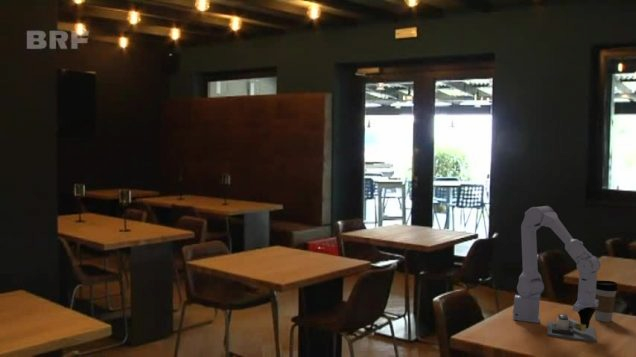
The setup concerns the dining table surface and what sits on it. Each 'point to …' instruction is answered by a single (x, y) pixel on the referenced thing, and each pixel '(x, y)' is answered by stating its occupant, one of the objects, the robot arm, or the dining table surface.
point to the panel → (572, 333)
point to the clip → (575, 323)
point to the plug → (562, 323)
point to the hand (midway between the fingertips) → (584, 327)
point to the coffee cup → (605, 300)
